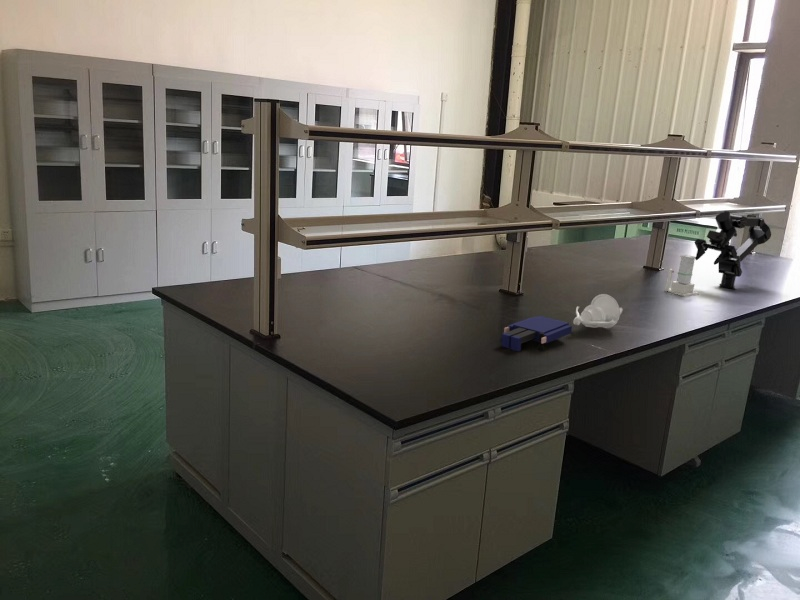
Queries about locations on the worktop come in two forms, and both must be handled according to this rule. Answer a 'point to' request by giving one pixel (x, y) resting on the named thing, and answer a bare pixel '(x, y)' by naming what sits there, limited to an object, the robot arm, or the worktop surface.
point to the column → (685, 269)
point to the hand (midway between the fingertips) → (704, 261)
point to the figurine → (599, 313)
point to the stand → (679, 287)
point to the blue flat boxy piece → (534, 332)
